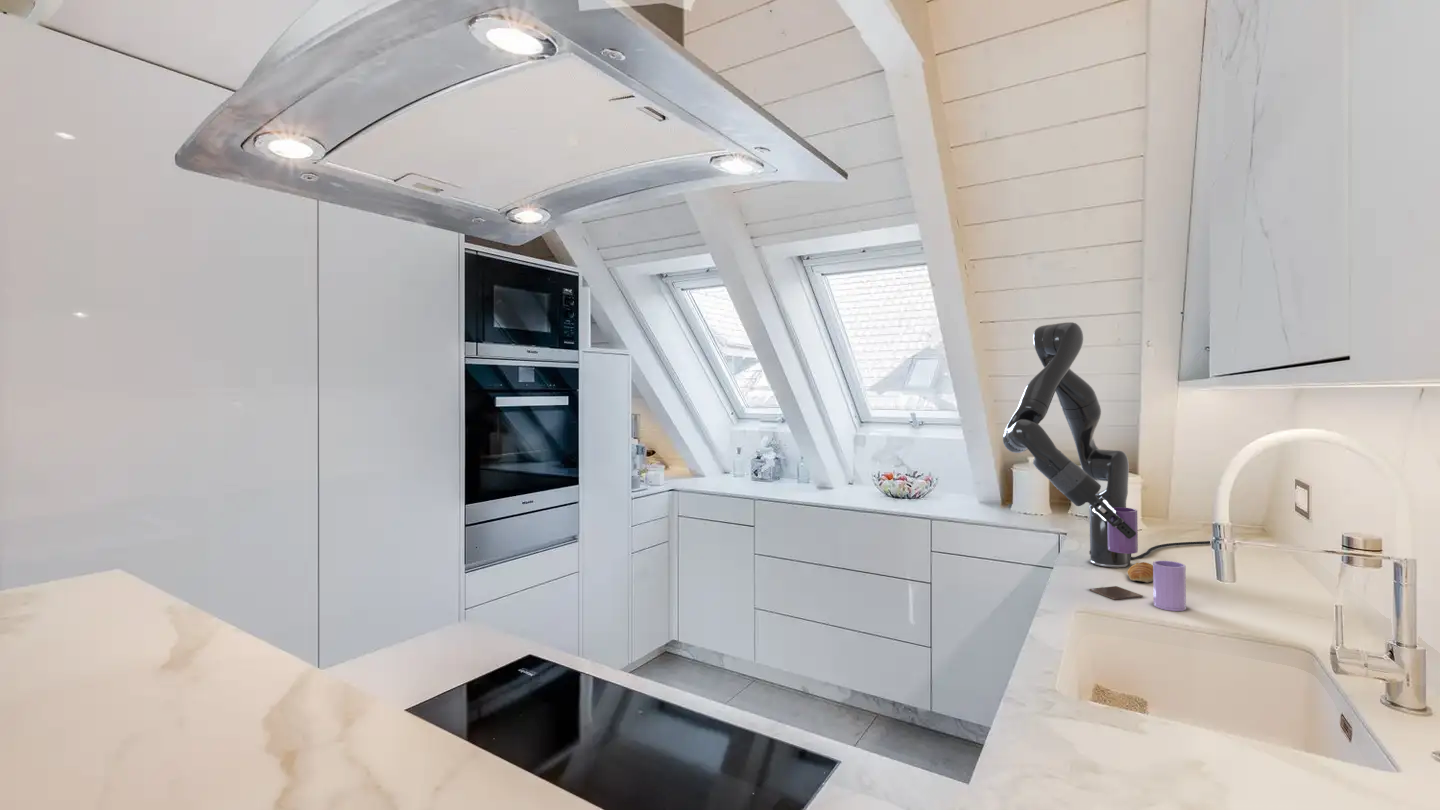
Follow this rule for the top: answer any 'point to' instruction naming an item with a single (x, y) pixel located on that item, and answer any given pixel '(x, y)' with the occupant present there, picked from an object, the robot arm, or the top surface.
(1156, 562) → the lilac cup
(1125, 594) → the coaster
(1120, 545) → the plum cup
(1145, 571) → the pastry
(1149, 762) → the top surface
